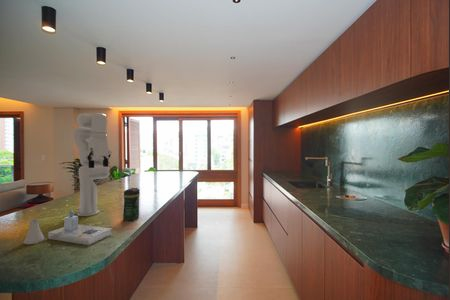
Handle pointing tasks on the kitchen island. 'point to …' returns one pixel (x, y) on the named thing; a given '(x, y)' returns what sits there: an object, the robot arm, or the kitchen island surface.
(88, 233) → the panel
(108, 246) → the kitchen island surface
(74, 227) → the plug
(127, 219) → the coffee jar
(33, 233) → the flask
